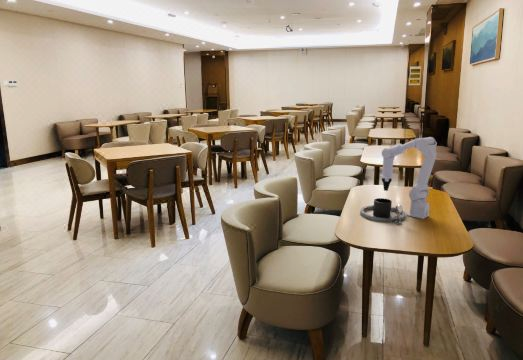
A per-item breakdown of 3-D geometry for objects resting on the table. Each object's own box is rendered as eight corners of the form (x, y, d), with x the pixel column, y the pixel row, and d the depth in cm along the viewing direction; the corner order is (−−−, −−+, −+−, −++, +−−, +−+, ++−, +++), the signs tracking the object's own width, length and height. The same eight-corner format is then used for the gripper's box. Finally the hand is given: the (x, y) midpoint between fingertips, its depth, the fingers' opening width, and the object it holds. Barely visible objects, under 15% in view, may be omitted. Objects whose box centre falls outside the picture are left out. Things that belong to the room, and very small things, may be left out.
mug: (392, 213, 233) (393, 198, 231) (389, 219, 222) (390, 203, 220) (375, 211, 237) (376, 196, 235) (371, 217, 226) (372, 201, 224)
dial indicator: (402, 224, 215) (404, 206, 213) (397, 225, 214) (399, 206, 212) (397, 221, 220) (398, 203, 217) (392, 222, 219) (393, 203, 216)
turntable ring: (412, 214, 230) (413, 211, 230) (392, 225, 213) (393, 221, 213) (373, 205, 247) (373, 202, 246) (352, 214, 230) (352, 211, 229)
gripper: (380, 165, 251) (379, 186, 254) (380, 170, 237) (378, 192, 240) (392, 166, 249) (391, 187, 252) (393, 171, 235) (391, 193, 238)
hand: (385, 190), depth 246 cm, fingers closed
